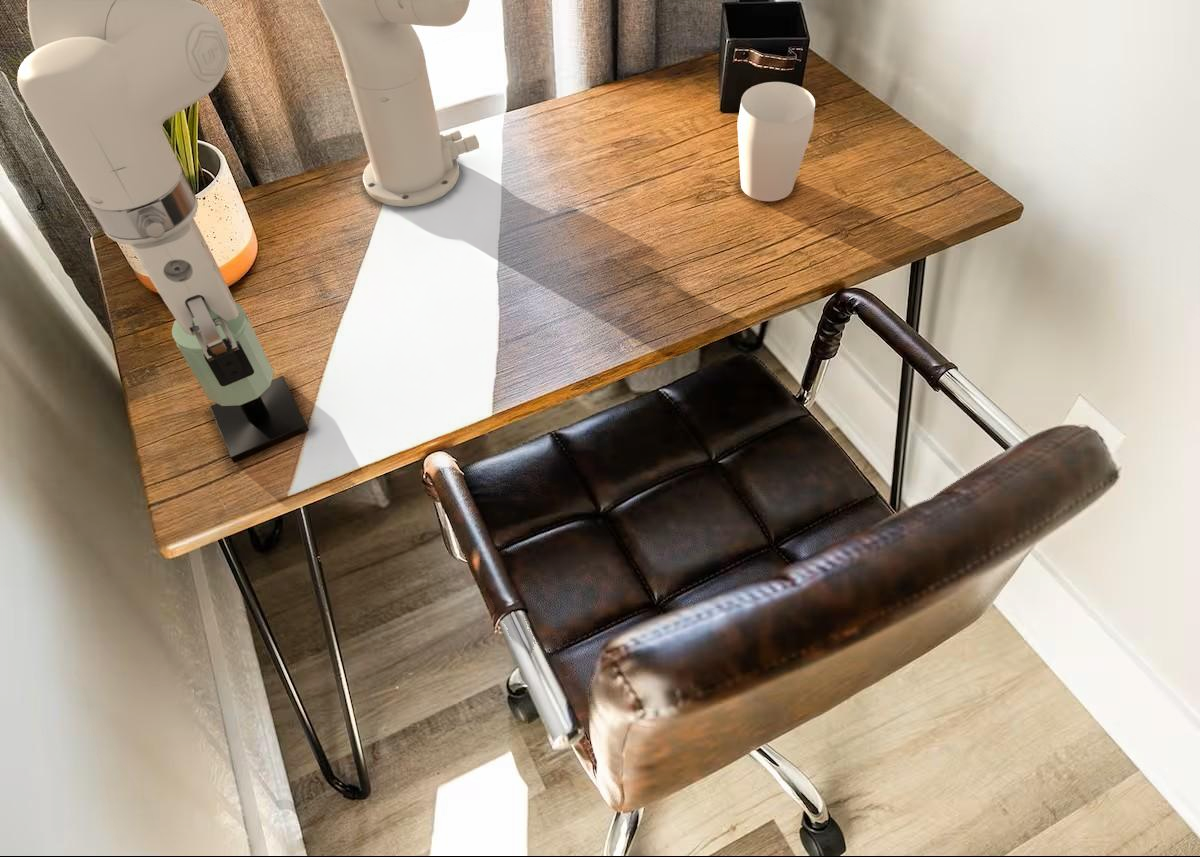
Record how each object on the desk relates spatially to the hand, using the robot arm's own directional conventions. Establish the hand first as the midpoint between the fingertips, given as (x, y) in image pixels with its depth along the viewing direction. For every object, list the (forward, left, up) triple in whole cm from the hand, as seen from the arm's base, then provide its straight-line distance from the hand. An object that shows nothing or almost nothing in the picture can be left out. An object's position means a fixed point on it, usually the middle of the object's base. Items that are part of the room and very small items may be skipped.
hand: (223, 345), depth 85 cm
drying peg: (0, 0, -11) cm, 11 cm away
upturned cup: (0, 0, -5) cm, 5 cm away
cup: (-68, -3, -11) cm, 69 cm away
